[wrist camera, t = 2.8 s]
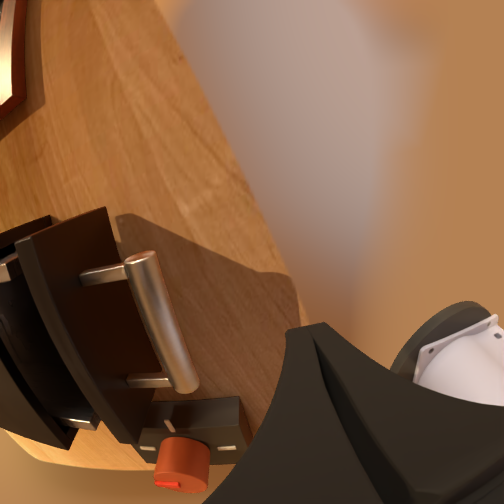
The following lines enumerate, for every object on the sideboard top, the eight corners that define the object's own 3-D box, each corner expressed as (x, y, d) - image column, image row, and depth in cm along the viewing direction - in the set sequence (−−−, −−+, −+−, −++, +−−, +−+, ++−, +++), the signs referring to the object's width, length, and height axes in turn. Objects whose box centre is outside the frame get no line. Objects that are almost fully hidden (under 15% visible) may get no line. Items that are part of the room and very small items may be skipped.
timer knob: (201, 435, 17) (197, 476, 14) (216, 460, 18) (214, 496, 15) (153, 435, 17) (143, 473, 14) (171, 460, 18) (165, 494, 15)
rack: (168, 189, 14) (113, 209, 8) (216, 364, 18) (208, 446, 11) (-20, 252, 15) (-74, 281, 8) (30, 367, 18) (-5, 413, 12)
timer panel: (236, 386, 19) (235, 417, 16) (255, 442, 22) (256, 468, 19) (120, 392, 20) (109, 418, 17) (156, 445, 22) (151, 469, 19)
